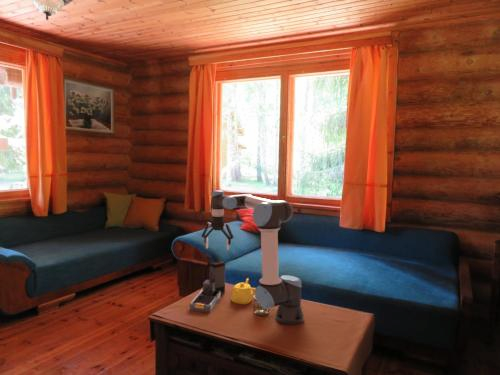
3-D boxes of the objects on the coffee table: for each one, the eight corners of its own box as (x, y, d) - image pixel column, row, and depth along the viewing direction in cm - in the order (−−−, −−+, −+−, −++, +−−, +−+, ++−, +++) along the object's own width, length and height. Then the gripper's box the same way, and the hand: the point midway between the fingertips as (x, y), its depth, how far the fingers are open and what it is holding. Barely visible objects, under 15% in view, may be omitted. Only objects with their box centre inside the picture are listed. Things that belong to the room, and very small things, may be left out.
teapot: (250, 309, 209) (251, 291, 208) (225, 305, 213) (225, 287, 212) (261, 295, 230) (261, 278, 228) (238, 292, 234) (238, 275, 233)
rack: (220, 297, 225) (220, 280, 224) (209, 313, 203) (209, 294, 202) (202, 295, 228) (202, 278, 226) (189, 311, 206) (189, 292, 204)
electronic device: (220, 290, 237) (220, 260, 235) (225, 292, 233) (226, 262, 231) (208, 293, 231) (208, 262, 229) (213, 296, 227) (214, 265, 225)
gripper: (238, 215, 228) (238, 248, 230) (200, 213, 233) (200, 245, 235) (235, 217, 221) (235, 251, 223) (196, 215, 225) (196, 249, 227)
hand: (217, 248), depth 229 cm, fingers open, 13 cm apart
